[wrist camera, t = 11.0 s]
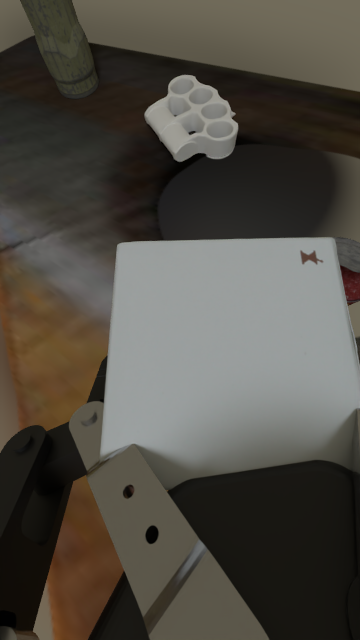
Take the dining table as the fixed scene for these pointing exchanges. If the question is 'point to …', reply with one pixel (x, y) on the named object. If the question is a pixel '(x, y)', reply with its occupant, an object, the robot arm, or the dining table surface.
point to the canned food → (349, 267)
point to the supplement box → (230, 356)
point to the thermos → (63, 46)
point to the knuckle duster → (193, 120)
